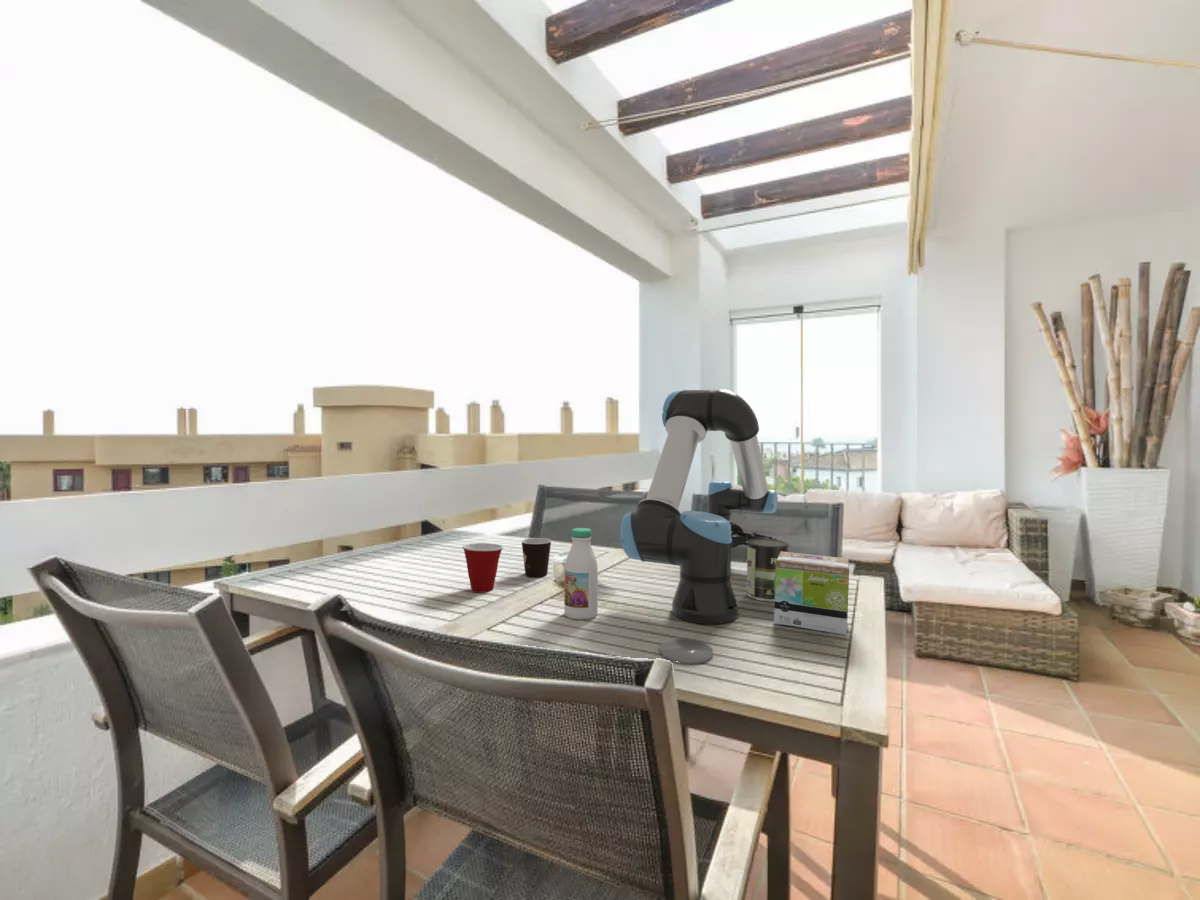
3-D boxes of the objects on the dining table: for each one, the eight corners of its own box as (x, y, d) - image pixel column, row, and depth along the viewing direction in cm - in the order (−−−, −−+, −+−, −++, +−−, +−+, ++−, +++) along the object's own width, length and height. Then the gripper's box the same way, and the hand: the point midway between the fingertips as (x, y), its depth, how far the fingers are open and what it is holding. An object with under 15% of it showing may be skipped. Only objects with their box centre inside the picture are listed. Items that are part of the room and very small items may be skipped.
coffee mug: (549, 578, 156) (549, 544, 156) (519, 578, 156) (519, 543, 156) (553, 568, 168) (553, 536, 167) (525, 568, 168) (525, 535, 167)
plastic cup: (512, 587, 147) (512, 543, 147) (483, 597, 138) (483, 551, 138) (482, 581, 153) (482, 538, 153) (453, 590, 144) (453, 545, 143)
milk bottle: (581, 607, 131) (582, 525, 131) (604, 615, 126) (605, 529, 125) (557, 614, 126) (557, 528, 125) (579, 623, 121) (580, 533, 120)
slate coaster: (666, 665, 99) (666, 660, 99) (655, 643, 109) (655, 639, 109) (719, 663, 100) (719, 659, 100) (704, 642, 110) (704, 638, 110)
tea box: (773, 625, 120) (774, 559, 120) (777, 611, 129) (779, 550, 129) (847, 636, 114) (849, 566, 114) (847, 621, 123) (848, 556, 123)
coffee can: (796, 597, 140) (797, 543, 139) (769, 604, 134) (770, 548, 134) (763, 587, 149) (764, 536, 148) (737, 594, 143) (738, 540, 142)
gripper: (766, 544, 174) (796, 561, 152) (689, 546, 171) (709, 563, 150) (766, 521, 173) (797, 535, 152) (690, 522, 171) (709, 536, 150)
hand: (753, 549), depth 151 cm, fingers open, 13 cm apart
